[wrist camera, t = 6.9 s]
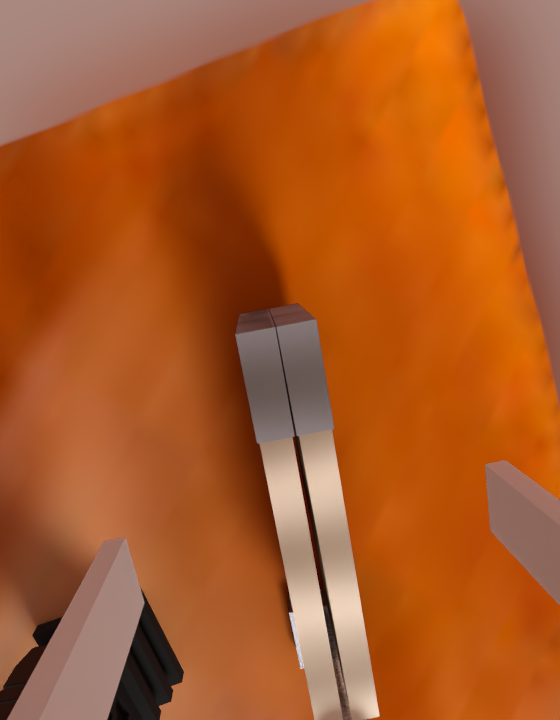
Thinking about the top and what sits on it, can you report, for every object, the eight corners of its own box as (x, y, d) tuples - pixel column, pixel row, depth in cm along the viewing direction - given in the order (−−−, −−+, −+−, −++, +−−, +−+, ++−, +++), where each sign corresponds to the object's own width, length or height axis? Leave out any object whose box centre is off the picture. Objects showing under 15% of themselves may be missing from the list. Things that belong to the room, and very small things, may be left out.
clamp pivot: (361, 637, 33) (415, 819, 22) (298, 650, 33) (321, 839, 22) (352, 583, 32) (405, 747, 21) (287, 596, 31) (306, 769, 21)
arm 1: (351, 610, 30) (381, 717, 23) (327, 615, 30) (351, 724, 23) (297, 303, 25) (316, 319, 18) (269, 308, 25) (276, 326, 18)
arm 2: (323, 616, 30) (346, 725, 23) (299, 621, 30) (315, 731, 23) (268, 308, 25) (275, 326, 18) (239, 314, 25) (235, 334, 18)
